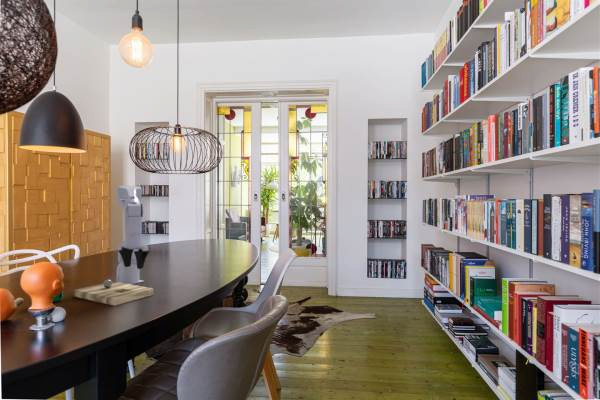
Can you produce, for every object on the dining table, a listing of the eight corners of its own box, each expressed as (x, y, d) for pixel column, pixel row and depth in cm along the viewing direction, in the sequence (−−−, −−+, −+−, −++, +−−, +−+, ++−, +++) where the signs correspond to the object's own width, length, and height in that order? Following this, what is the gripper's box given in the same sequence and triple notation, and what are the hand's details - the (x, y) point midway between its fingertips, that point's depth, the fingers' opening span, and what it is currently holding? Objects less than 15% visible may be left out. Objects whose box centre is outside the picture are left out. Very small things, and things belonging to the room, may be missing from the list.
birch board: (74, 296, 134) (74, 289, 134) (114, 287, 148) (114, 281, 148) (114, 305, 123) (114, 298, 123) (153, 294, 137) (153, 288, 137)
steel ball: (101, 288, 137) (101, 279, 137) (109, 286, 139) (109, 278, 139) (106, 289, 135) (106, 280, 135) (114, 287, 138) (114, 279, 138)
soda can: (66, 299, 129) (66, 267, 129) (52, 303, 125) (52, 269, 125) (56, 298, 131) (56, 266, 131) (42, 302, 126) (42, 268, 126)
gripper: (113, 233, 142) (112, 267, 142) (137, 235, 135) (137, 271, 135) (128, 232, 148) (128, 264, 148) (152, 234, 142) (152, 267, 142)
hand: (133, 267), depth 142 cm, fingers open, 7 cm apart
